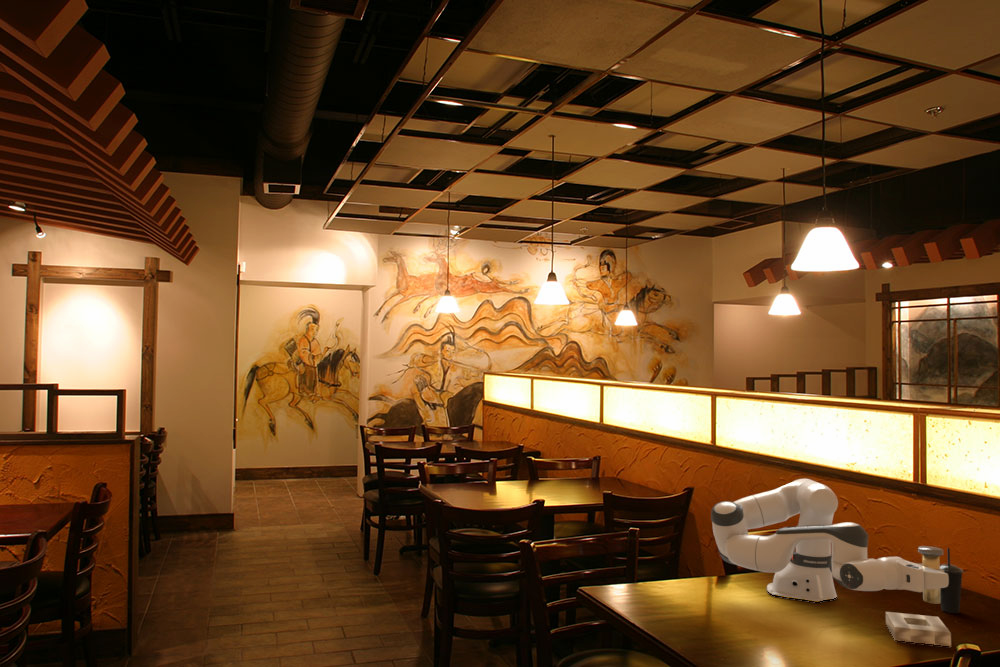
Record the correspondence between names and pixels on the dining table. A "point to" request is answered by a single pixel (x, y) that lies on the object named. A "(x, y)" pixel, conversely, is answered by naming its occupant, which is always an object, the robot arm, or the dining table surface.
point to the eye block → (918, 629)
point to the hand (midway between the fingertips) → (933, 569)
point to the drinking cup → (951, 587)
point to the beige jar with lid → (932, 561)
